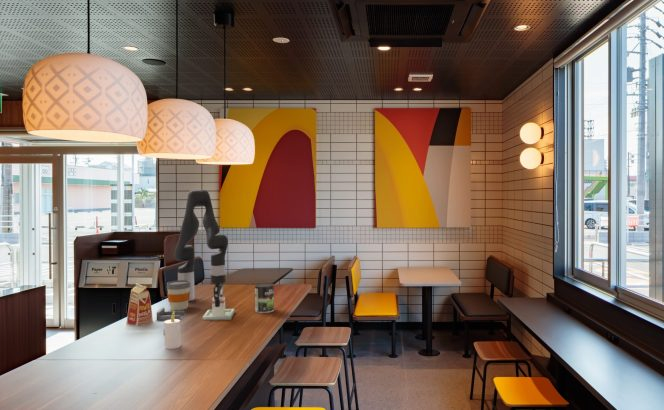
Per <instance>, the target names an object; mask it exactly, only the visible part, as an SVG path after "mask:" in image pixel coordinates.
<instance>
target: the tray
mask: <svg viewBox="0 0 664 410" xmlns="http://www.w3.org/2000/svg"><path fill="white" fill-rule="evenodd" d="M234 314H235V308H225V315H224V316H212V309H207V310H206V312H205V313H204V314H203V315H202V321H206V320H207V321H208V320H209V321H210V322H211V321H212V322H213V321H214V322H215V321H231V320H232V319H233V316H234Z"/></svg>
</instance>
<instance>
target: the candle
mask: <svg viewBox="0 0 664 410" xmlns="http://www.w3.org/2000/svg"><path fill="white" fill-rule="evenodd" d="M172 311H173V313H172V316H171V319H170V320H166V321H163V326H164V327H163V337H164V349H167V350H174V349H177V348H180V347H181V345H182V344H181V343H182V341H181V339H182V337H181V336H182V335H181V320H179V319H174V317H175V311H176V310H172Z"/></svg>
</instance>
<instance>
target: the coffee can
mask: <svg viewBox="0 0 664 410" xmlns="http://www.w3.org/2000/svg"><path fill="white" fill-rule="evenodd" d="M274 290H275V284H273V283H268V282H267V283H266V282H265V283H263V282H262V283H257V284H254V301H255V302H254V305H255V308H254V309H255V313H258V314H270V313H272V312H274V311H275V298H274V297H275V291H274Z"/></svg>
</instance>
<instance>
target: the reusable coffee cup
mask: <svg viewBox="0 0 664 410" xmlns="http://www.w3.org/2000/svg"><path fill="white" fill-rule="evenodd" d="M166 290H167V300H168V303H169V307H170V311H184V310H186V309H188V308H189V307H188V305H189V301H188V300H189V298H190V281H188V280H178V279H177V280H172V281H167V283H166Z"/></svg>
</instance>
